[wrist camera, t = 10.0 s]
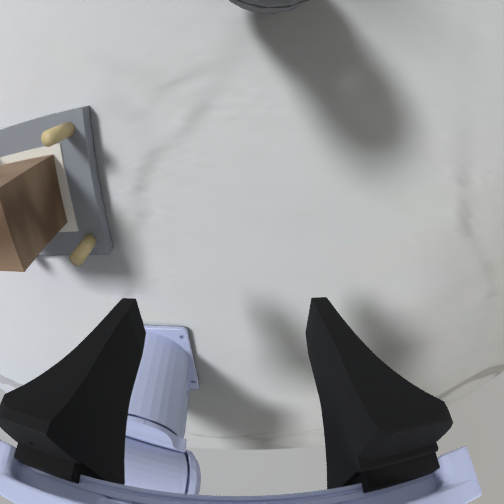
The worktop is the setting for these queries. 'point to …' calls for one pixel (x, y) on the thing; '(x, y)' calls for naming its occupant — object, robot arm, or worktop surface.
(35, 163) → the walnut block
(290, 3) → the light bulb
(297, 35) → the worktop surface
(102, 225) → the standoff board
